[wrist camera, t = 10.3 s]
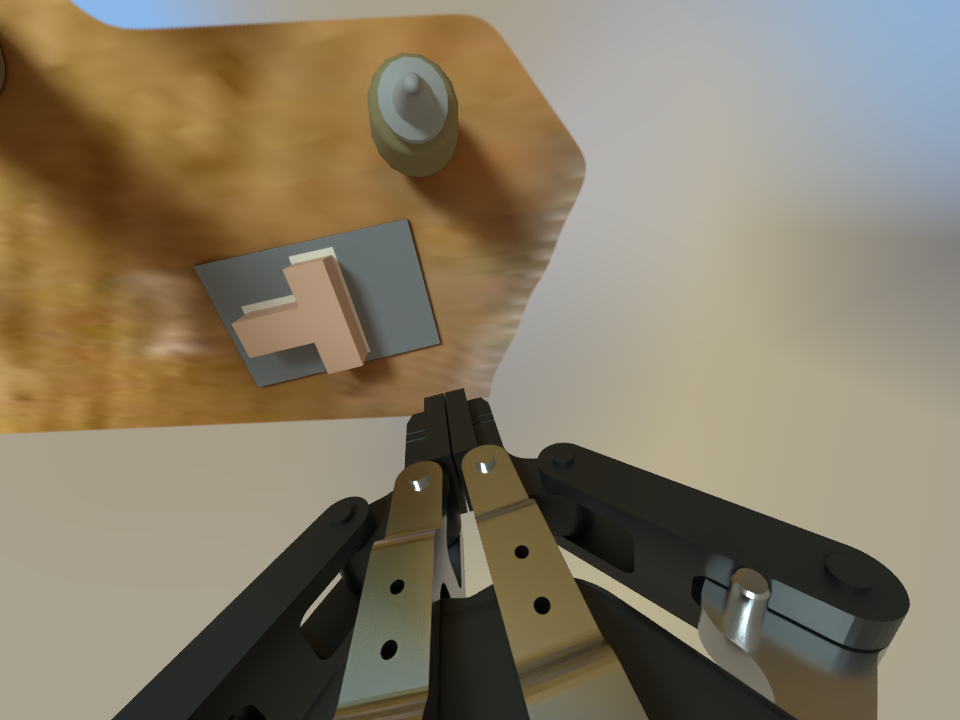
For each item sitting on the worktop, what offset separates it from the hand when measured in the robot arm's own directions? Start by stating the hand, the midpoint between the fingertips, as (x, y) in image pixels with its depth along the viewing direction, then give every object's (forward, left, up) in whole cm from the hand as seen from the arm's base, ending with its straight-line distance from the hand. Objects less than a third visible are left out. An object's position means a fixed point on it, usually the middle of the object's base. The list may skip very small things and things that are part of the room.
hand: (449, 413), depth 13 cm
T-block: (+2, -15, -31) cm, 35 cm away
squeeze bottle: (-13, +2, -32) cm, 35 cm away
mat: (+2, -12, -32) cm, 34 cm away
